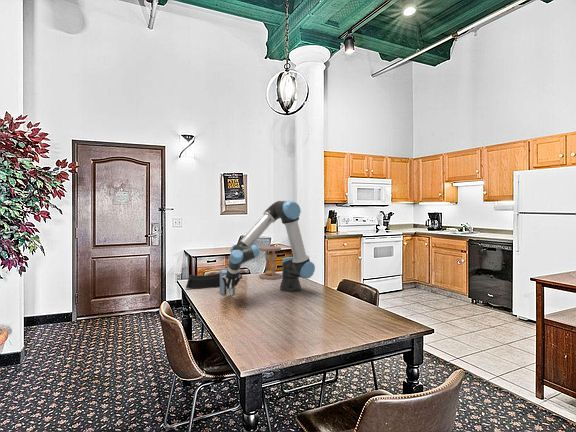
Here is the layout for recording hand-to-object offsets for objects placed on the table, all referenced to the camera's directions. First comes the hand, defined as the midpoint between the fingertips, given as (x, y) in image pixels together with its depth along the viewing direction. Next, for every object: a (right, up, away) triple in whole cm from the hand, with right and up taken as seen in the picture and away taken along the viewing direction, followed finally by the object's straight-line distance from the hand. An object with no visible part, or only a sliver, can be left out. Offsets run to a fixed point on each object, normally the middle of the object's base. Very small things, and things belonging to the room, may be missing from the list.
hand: (229, 290), depth 239 cm
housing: (-3, -3, +11) cm, 11 cm away
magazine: (-19, -3, +24) cm, 31 cm away
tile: (-2, -3, +8) cm, 9 cm away
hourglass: (+24, -2, +62) cm, 66 cm away
